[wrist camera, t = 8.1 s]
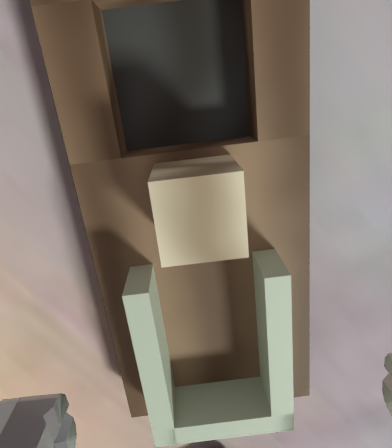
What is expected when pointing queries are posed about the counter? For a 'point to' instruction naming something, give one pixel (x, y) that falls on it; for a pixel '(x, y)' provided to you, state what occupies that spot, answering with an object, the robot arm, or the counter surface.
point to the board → (183, 150)
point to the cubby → (224, 390)
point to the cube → (199, 210)
